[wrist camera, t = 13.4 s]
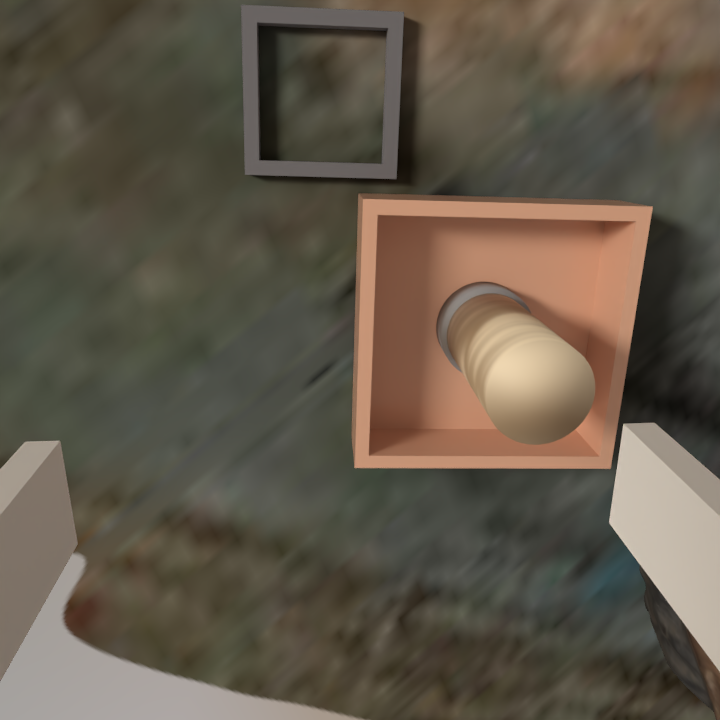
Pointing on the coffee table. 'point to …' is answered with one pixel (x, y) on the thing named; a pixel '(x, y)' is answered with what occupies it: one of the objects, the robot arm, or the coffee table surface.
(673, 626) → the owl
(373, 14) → the gray square frame
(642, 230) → the tray
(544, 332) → the beige rounded cylinder
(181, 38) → the coffee table surface
